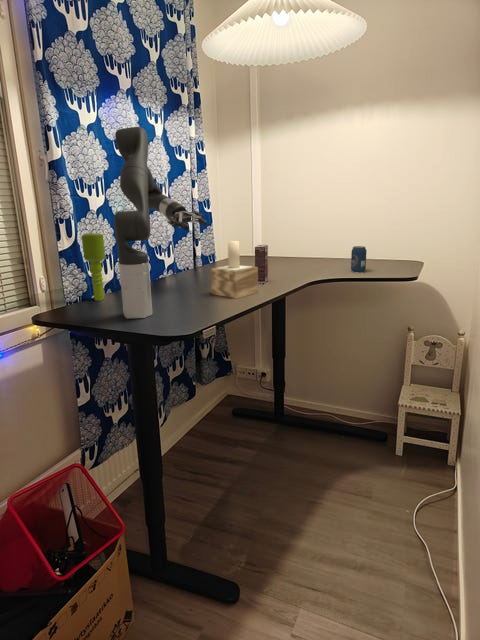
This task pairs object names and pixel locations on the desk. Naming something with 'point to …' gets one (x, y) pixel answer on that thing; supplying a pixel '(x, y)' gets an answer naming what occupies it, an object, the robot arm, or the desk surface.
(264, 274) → the supplement box
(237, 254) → the lid
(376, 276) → the desk surface
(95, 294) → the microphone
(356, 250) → the soda can
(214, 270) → the box
